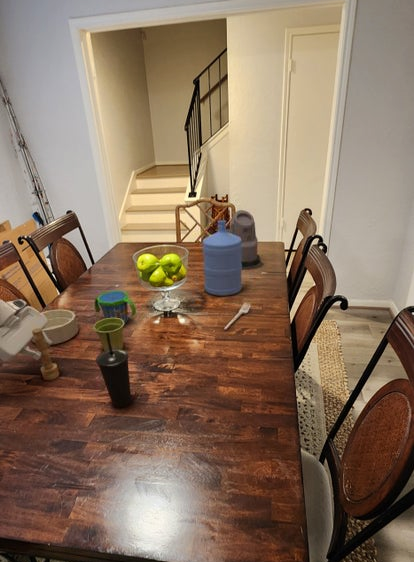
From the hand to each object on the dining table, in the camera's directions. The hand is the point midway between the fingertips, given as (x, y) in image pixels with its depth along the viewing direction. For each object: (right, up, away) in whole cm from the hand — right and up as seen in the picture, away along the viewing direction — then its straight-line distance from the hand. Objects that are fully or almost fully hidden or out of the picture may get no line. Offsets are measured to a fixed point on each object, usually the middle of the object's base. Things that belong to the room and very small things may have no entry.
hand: (45, 351), depth 103 cm
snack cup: (+12, +11, +32) cm, 36 cm away
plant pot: (+15, +1, +16) cm, 22 cm away
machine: (+61, +47, +87) cm, 116 cm away
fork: (+56, +12, +31) cm, 65 cm away
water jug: (+52, +26, +54) cm, 80 cm away
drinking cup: (+23, -13, -7) cm, 27 cm away
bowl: (-8, +6, +26) cm, 28 cm away
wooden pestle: (0, -7, +4) cm, 8 cm away
